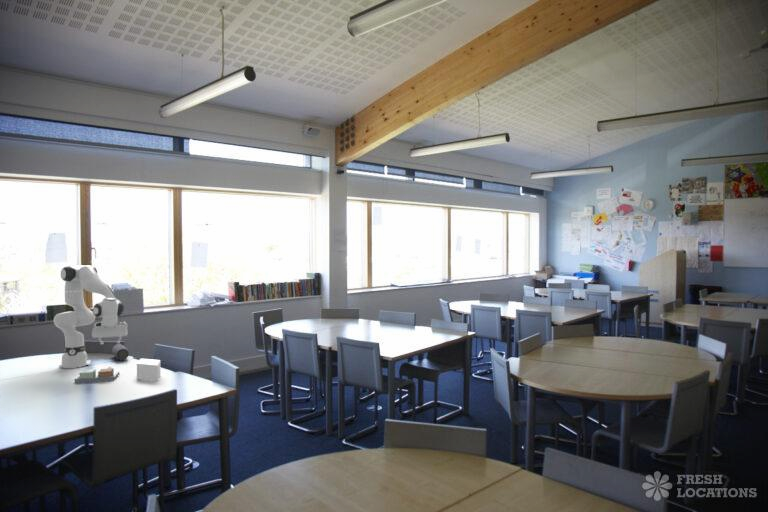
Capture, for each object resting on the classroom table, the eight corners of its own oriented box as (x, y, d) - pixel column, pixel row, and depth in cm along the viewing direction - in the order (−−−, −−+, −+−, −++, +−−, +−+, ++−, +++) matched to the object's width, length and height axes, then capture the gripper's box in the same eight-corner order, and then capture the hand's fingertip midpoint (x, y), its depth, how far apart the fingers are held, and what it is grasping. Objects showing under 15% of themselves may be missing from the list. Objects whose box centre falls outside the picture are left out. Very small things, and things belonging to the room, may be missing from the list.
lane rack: (81, 377, 303) (81, 373, 303) (119, 374, 310) (119, 371, 310) (74, 383, 289) (74, 379, 289) (114, 380, 296) (114, 376, 296)
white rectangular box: (145, 384, 289) (145, 367, 289) (128, 375, 309) (128, 360, 309) (169, 379, 300) (169, 363, 300) (152, 371, 320) (152, 356, 320)
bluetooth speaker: (111, 356, 365) (111, 344, 365) (125, 355, 370) (125, 342, 370) (115, 362, 346) (115, 348, 346) (129, 360, 352) (129, 347, 352)
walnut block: (103, 375, 308) (103, 366, 308) (115, 374, 311) (115, 365, 311) (98, 381, 294) (98, 371, 294) (110, 380, 297) (110, 371, 297)
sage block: (82, 379, 299) (82, 370, 299) (95, 378, 301) (95, 369, 301) (79, 382, 291) (79, 373, 291) (92, 381, 294) (92, 372, 294)
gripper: (128, 321, 315) (128, 342, 315) (93, 323, 308) (93, 344, 308) (127, 322, 309) (127, 343, 309) (91, 324, 302) (91, 345, 302)
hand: (110, 343), depth 308 cm, fingers open, 8 cm apart
